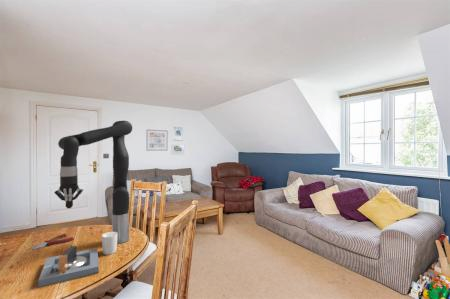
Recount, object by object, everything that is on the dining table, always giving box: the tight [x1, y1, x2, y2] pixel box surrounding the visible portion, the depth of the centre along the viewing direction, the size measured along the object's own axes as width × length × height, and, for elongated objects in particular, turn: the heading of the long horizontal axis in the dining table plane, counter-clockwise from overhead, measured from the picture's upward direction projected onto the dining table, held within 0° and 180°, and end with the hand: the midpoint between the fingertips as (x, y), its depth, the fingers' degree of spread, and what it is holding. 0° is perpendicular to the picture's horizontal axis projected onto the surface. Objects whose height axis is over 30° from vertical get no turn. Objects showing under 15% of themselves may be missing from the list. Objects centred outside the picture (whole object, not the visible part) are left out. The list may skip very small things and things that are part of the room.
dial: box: [57, 245, 86, 273], centre depth 108 cm, size 16×12×9 cm
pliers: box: [29, 233, 75, 250], centre depth 138 cm, size 12×20×3 cm, turn 149°
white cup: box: [101, 231, 118, 256], centre depth 127 cm, size 8×8×10 cm
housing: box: [37, 248, 100, 288], centre depth 110 cm, size 22×22×3 cm
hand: (69, 208), depth 119 cm, fingers closed
